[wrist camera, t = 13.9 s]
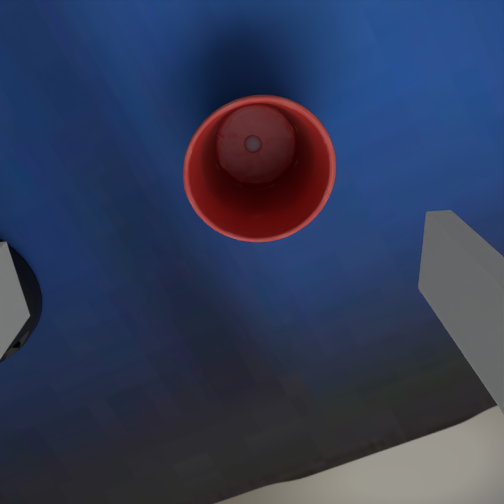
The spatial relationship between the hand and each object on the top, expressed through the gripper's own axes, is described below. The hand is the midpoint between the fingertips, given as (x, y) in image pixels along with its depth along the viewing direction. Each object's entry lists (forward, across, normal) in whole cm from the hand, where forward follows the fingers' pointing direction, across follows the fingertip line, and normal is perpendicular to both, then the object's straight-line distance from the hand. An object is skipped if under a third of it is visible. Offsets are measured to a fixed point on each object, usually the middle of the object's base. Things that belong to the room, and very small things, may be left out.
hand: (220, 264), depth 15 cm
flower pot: (+29, +2, -3) cm, 29 cm away
